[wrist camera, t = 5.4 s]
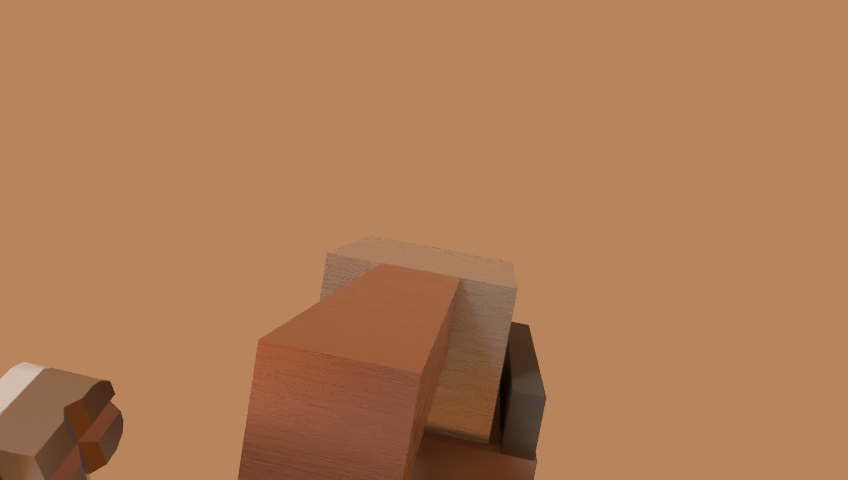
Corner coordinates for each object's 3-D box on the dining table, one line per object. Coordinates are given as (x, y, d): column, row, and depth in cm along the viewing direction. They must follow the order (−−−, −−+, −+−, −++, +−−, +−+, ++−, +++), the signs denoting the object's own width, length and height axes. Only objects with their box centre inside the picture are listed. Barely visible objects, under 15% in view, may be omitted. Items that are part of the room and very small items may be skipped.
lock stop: (490, 377, 26) (511, 262, 26) (478, 713, 9) (540, 397, 9) (353, 349, 27) (371, 236, 26) (110, 618, 10) (149, 317, 9)
